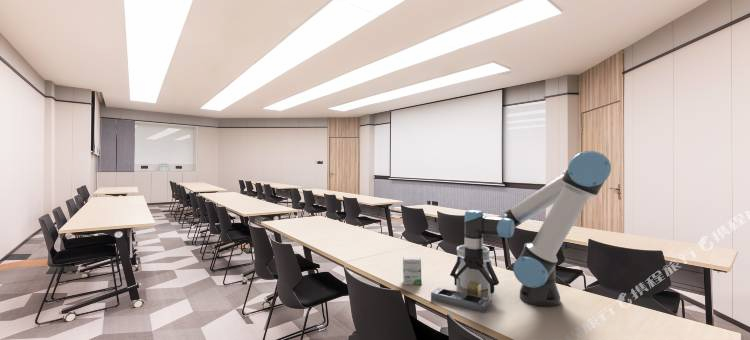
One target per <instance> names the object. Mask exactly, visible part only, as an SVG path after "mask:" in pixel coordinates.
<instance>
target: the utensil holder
mask: <svg viewBox="0 0 750 340" xmlns="http://www.w3.org/2000/svg"><path fill="white" fill-rule="evenodd" d="M465 247H466V246H465V244H461V245H458V246H456V254H457V256H456V258H457V257H458V256H460V255H461V256H462V257H465ZM482 248H483V260H484V261H488V260H490V248H489V247H488V246H485V245H483V247H482ZM465 264H466V263H465V262H464V260H463V261H462V262H461V263H460V265H459V267H458V269H457V273H458V272H459V271H460V270H461V269H462V268H463V266H464V265H465ZM483 267H484V268H485V270H486V272H487V273H488V274H489V275H490V273H489V271H488V269H487V266H486V265H485V264H483ZM459 277H460V288H461V289H464V290H467V284H468V283H469V282H470V281H474V282H479V283H481V291H485V290H488V285H489V283H488V281H487V280H486V279H485V277H484V276H483V275H482V273H481V272H480V271H479V270H474V269H469V268H468V267H467V268H466V269H465V270H464V271H463V272H462V274H461V275H460V276H459Z"/></svg>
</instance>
